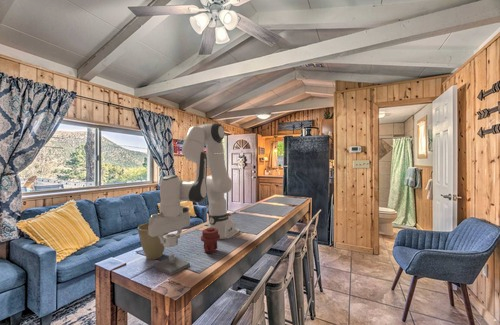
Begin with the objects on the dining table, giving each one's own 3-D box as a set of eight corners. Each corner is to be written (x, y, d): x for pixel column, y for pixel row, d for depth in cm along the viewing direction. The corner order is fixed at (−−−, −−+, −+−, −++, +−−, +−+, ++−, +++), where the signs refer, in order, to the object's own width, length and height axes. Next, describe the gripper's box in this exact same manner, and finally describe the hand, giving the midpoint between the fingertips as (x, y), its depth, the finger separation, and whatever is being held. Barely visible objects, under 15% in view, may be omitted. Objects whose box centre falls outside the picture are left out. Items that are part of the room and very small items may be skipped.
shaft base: (172, 259, 110) (172, 248, 110) (189, 265, 103) (189, 254, 103) (153, 267, 102) (153, 255, 102) (171, 275, 95) (170, 262, 94)
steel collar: (180, 243, 103) (180, 235, 103) (168, 248, 98) (168, 239, 98) (172, 240, 106) (172, 232, 106) (160, 245, 101) (160, 236, 101)
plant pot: (150, 265, 103) (149, 232, 103) (132, 258, 112) (131, 227, 111) (176, 254, 116) (175, 223, 116) (158, 248, 124) (158, 219, 124)
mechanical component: (199, 255, 114) (203, 247, 124) (218, 255, 114) (221, 247, 124) (198, 231, 114) (203, 225, 124) (217, 231, 113) (221, 225, 123)
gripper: (153, 216, 92) (153, 249, 92) (192, 207, 108) (192, 235, 108) (144, 214, 95) (145, 246, 95) (183, 206, 112) (184, 233, 112)
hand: (170, 240), depth 102 cm, fingers closed on steel collar, 6 cm apart
